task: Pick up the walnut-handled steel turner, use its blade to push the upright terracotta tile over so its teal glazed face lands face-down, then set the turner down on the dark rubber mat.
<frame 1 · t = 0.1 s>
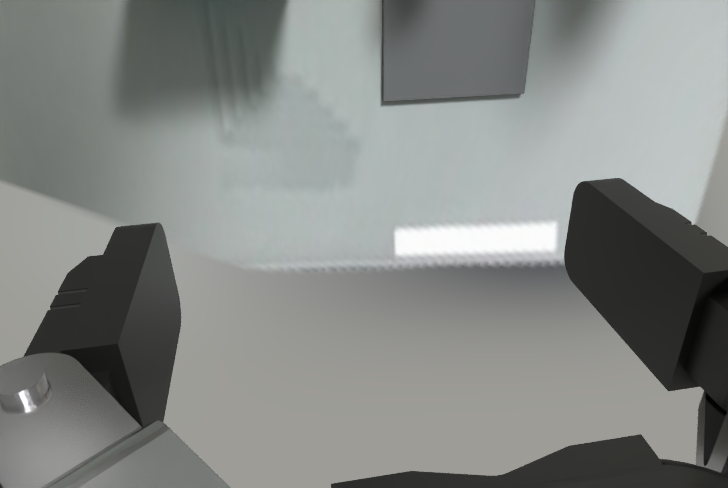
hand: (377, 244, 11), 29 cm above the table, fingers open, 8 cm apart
tool mat: (458, 19, 38), on the table
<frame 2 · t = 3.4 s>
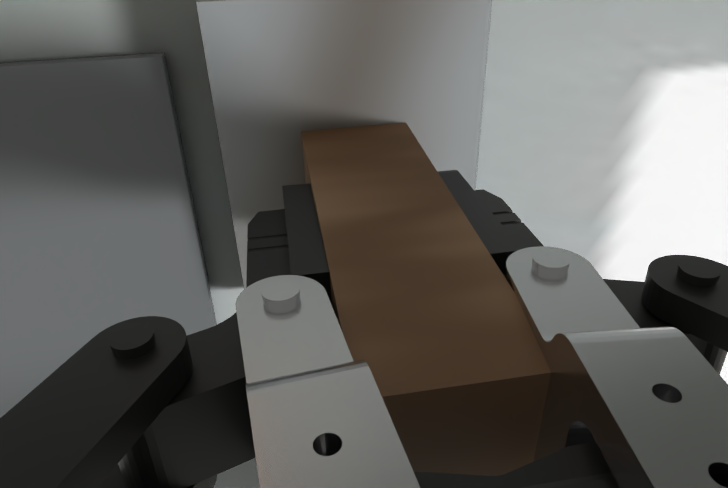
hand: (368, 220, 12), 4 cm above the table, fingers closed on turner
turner: (349, 158, 15), point 1 cm above the table, touching gripper
tool mat: (4, 263, 15), on the table
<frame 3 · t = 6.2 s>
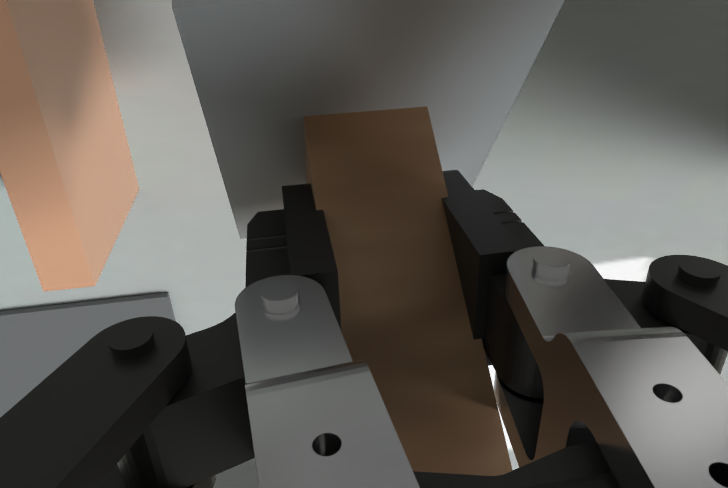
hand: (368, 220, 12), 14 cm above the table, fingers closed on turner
tile: (94, 89, 24), on the table
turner: (355, 106, 13), point 13 cm above the table, tilted 38°, touching gripper
tool mat: (89, 382, 30), on the table
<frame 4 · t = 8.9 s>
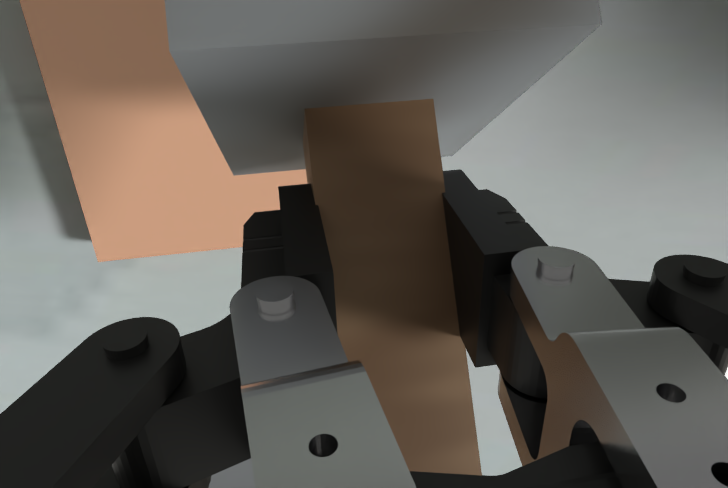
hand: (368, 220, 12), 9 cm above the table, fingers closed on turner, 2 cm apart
tile: (315, 110, 20), point 1 cm above the table, tilted 90°
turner: (356, 75, 12), point 8 cm above the table, tilted 56°, touching gripper
tool mat: (271, 428, 27), on the table
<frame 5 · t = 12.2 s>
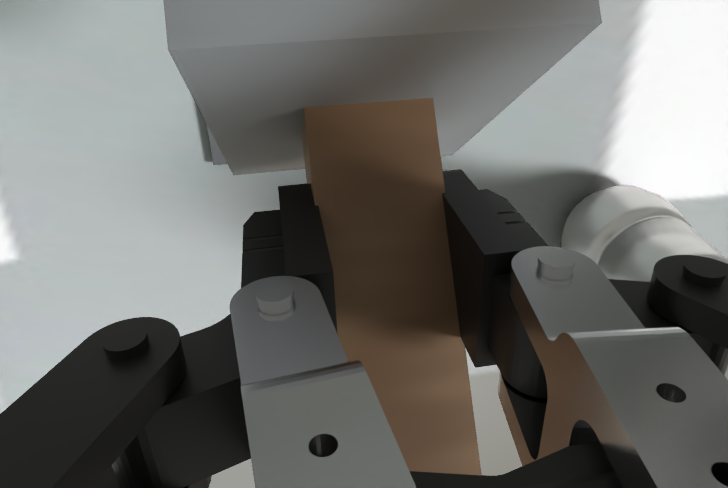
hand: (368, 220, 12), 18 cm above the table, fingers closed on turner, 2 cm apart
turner: (356, 74, 12), point 17 cm above the table, tilted 56°, touching gripper
plastic bottle: (598, 221, 35), on the table
when the fingers open (6 cm above the table, at t = 14.5 s): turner drops 4 cm, resting on tool mat.
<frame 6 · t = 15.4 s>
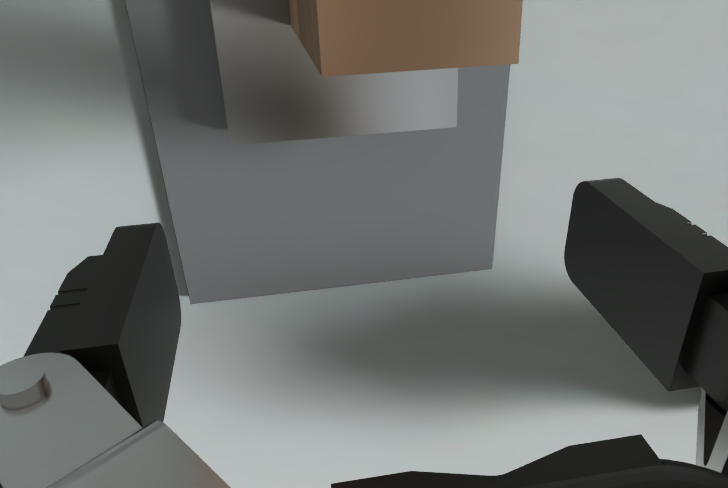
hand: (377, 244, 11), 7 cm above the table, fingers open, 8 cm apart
tool mat: (336, 135, 17), on the table
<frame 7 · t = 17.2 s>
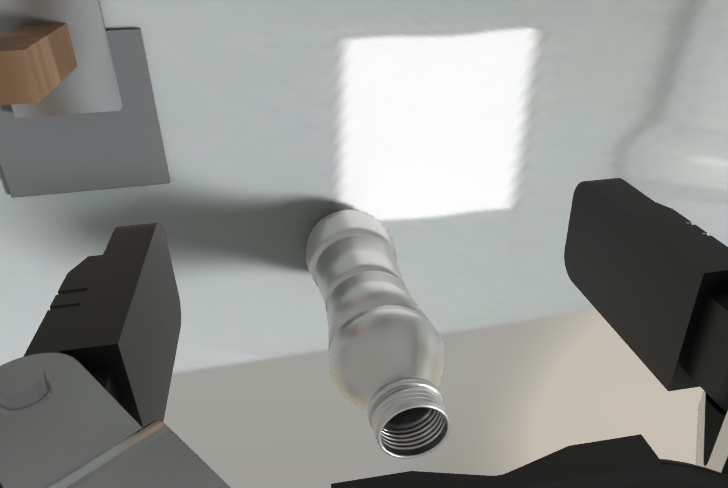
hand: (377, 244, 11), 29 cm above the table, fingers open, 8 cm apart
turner: (54, 42, 34), resting on tool mat
plastic bottle: (344, 236, 45), on the table
tool mat: (74, 115, 37), on the table
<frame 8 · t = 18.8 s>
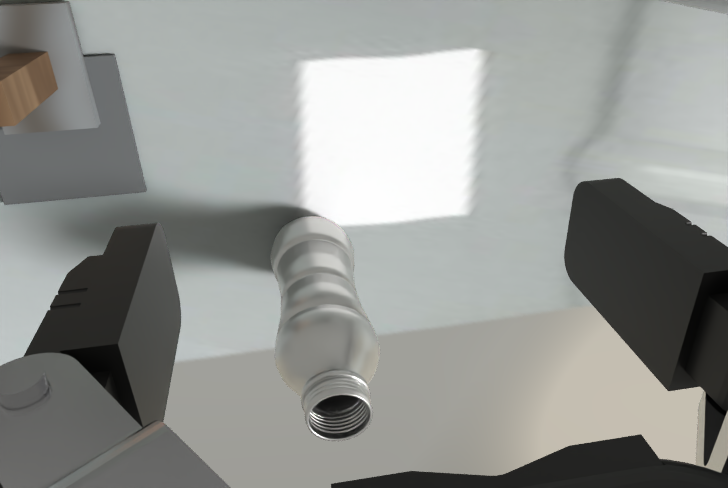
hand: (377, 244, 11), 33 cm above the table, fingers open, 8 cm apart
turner: (38, 68, 39), resting on tool mat
plastic bottle: (309, 240, 49), on the table
tool mat: (58, 131, 41), on the table
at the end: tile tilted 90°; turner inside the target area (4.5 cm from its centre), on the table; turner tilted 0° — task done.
